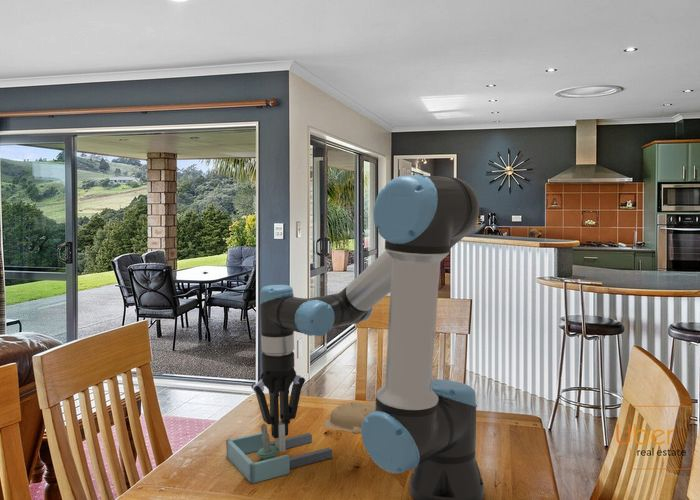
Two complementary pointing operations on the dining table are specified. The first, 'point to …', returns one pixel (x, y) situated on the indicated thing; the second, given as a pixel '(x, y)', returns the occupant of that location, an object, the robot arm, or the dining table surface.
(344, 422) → the mask
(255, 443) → the bracket
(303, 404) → the dining table surface
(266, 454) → the screw
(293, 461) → the slot
